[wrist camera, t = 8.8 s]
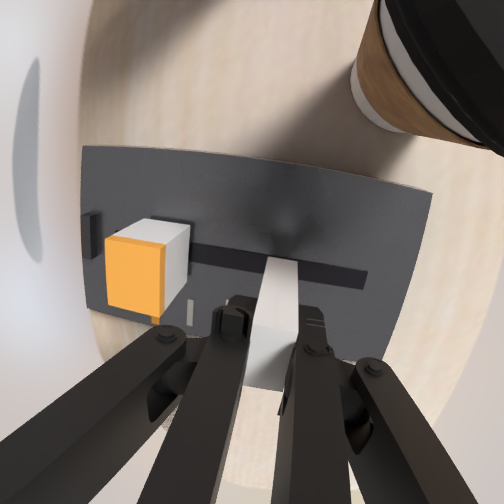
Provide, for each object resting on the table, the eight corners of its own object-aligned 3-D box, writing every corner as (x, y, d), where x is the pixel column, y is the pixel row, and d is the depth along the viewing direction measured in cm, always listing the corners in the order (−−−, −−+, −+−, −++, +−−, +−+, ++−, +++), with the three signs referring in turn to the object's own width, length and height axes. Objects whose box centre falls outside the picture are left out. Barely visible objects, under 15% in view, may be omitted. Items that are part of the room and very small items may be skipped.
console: (98, 144, 20) (75, 146, 17) (420, 188, 18) (438, 195, 15) (99, 296, 24) (81, 312, 21) (374, 347, 22) (382, 370, 19)
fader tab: (143, 218, 18) (104, 239, 14) (190, 225, 18) (160, 248, 14) (143, 273, 19) (108, 304, 15) (186, 281, 19) (159, 317, 15)
